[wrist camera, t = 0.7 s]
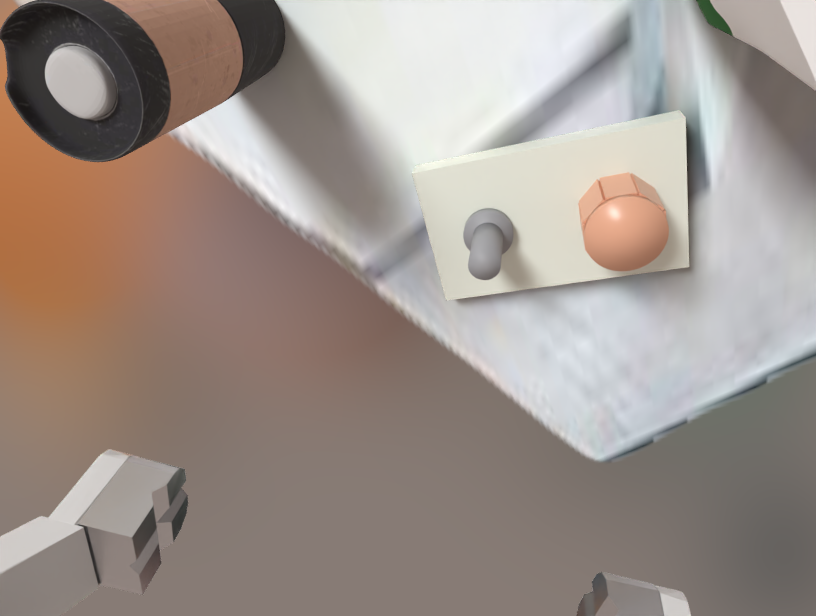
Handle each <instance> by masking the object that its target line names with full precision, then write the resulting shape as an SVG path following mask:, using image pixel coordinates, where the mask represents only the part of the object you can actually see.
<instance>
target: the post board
mask: <svg viewBox="0 0 816 616" xmlns="http://www.w3.org/2000/svg"><path fill="white" fill-rule="evenodd" d="M627 172H629V173H630V174H631V173H633V174H634V175H636V176H637V177H639V178H640V179H642V180H643V181H645V182H646V183H648V184H649V185H651V186H652V187H654V188H655V190H656V192H657V194H658V196H659V198H660V200H661V202H662V204H663V206H664V208H665V210H666V219H667V222H668V226H669V236H668V240H667V243H666V245H665V247H664V249H663V251H662V252H661V253H660V255H659V256H658V257H657V258H656V259H654V260H653V261H652V262H650V263H649V264H647V265H645V266H643V267H641V268H639V269H635V270H631V271H613V270H609V269H606V268H604V267H602V266H600V265H598V264H597V263H596V262H595V261H594V260H593V259H592V258H591V257H590V256H589V254H588V253H587V252H586V251H585V246H584V240H583V235H582V230H581V222H580V214H579V206H578V203H579V200H580V199H581V198H582V197H583V195H584V194H585V193H586V192H587V191H588V189H589V188H590V187H591V186H592V185H593V183H594V182H595V181H596V180H597V179H598V180H599V181H600V177H606V176H611V175H617V174H622V173H627ZM412 176H413V180H414V183H415V187H416V191H417V194H418V198H419V202H420V206H421V209H422V213H423V217H424V220H425V224H426V228H427V232H428V235H429V239H430V243H431V246H432V250H433V254H434V258H435V261H436V265H437V269H438V273H439V276H440V280H441V284H442V287H443V291H444V295H445V299H446V301H447V300H454V299H461V298H468V297H476V296H483V295H490V294H497V293H505V292H512V291H519V290H526V289H534V288H541V287H548V286H556V285H563V284H570V283H577V282H585V281H592V280H599V279H606V278H614V277H621V276H628V275H635V274H643V273H650V272H657V271H664V270H672V269H679V268H686V267H689V238H688V196H687V153H686V117H685V116H684V115H683V114H682V113H681V112H680V110H678V111H673V112H669V113H664V114H659V115H654V116H649V117H645V118H640V119H635V120H630V121H625V122H621V123H616V124H611V125H606V126H601V127H596V128H592V129H587V130H582V131H577V132H572V133H568V134H563V135H558V136H553V137H548V138H544V139H539V140H534V141H529V142H524V143H520V144H515V145H510V146H505V147H500V148H496V149H491V150H486V151H481V152H476V153H472V154H467V155H462V156H457V157H452V158H448V159H443V160H438V161H433V162H428V163H424V164H419V165H416V166H415V168H414V170H413V172H412Z"/></svg>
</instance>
